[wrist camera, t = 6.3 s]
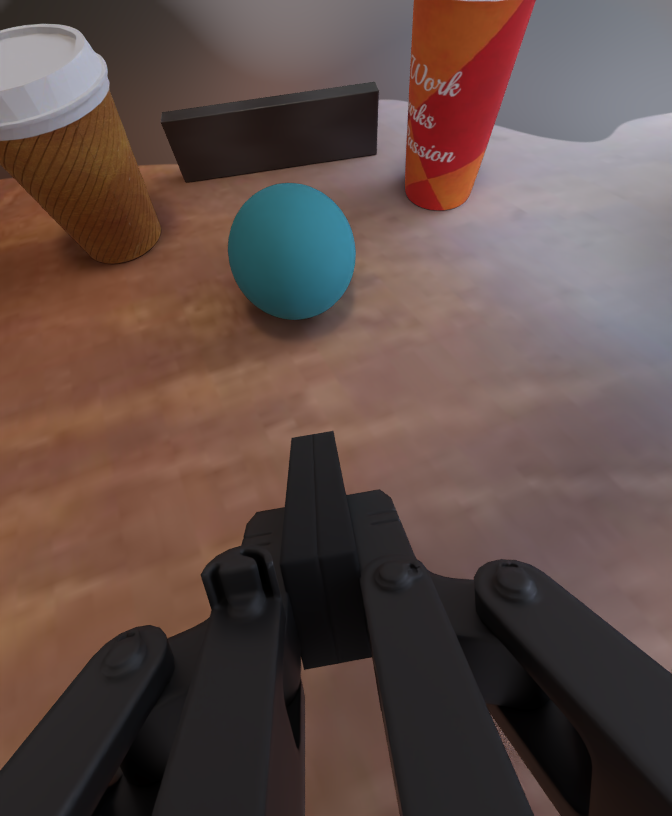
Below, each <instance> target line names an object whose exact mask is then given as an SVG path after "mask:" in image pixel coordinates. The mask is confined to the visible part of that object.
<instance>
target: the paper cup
mask: <svg viewBox="0 0 672 816" xmlns="http://www.w3.org/2000/svg"><path fill="white" fill-rule="evenodd" d="M535 1H536V0H414V8H413V29H412V47H411V66H410V85H409V105H408V125H407V146H406V168H405V192H406V195H407V197H408V198H409V200H410V201H411V202H413V203H414V204H416V205H417V206H420V207H422V208H425V209H430V210H448V209H452V208H455V207H458V206H460V205H461V204H463V203H464V202H465V201H466V200H467V199H468V197H469V195H470V193H471V190H472V188H473V185H474V182H475V179H476V177H477V174H478V171H479V168H480V165H481V162H482V159H483V156H484V153H485V150H486V147H487V144H488V141H489V138H490V136H491V133H492V130H493V127H494V124H495V121H496V118H497V114H498V111H499V109H500V106H501V103H502V100H503V97H504V94H505V91H506V88H507V85H508V82H509V79H510V76H511V72H512V70H513V67H514V64H515V61H516V58H517V55H518V52H519V49H520V46H521V43H522V40H523V37H524V34H525V31H526V28H527V25H528V22H529V19H530V16H531V13H532V10H533V7H534V4H535Z"/></svg>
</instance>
